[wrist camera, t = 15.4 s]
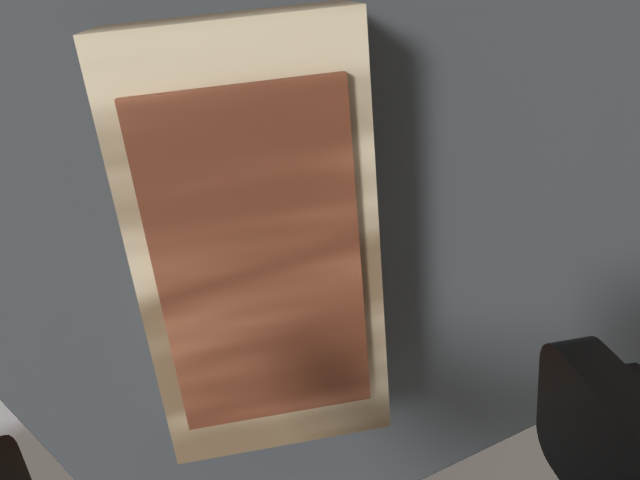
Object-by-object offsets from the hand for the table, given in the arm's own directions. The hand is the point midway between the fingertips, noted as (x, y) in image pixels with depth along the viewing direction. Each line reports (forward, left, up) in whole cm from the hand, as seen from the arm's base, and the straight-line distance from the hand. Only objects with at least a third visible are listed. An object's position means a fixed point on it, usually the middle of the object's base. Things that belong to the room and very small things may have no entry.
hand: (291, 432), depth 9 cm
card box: (+2, +6, -8) cm, 11 cm away
